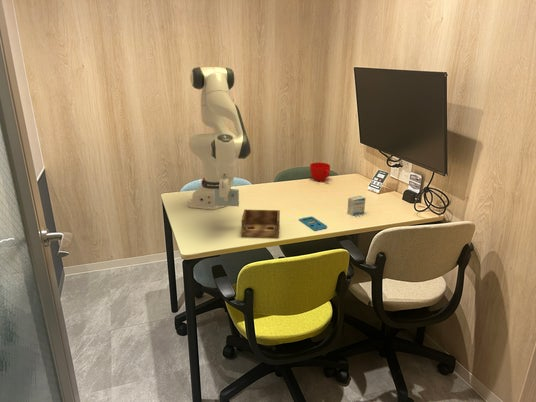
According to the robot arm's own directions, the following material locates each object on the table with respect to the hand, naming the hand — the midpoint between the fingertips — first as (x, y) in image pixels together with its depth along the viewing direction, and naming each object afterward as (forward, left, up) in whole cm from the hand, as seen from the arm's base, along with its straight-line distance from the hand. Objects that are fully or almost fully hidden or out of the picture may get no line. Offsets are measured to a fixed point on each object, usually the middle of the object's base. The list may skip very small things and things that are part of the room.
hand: (226, 199), depth 184 cm
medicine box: (+64, +21, -15) cm, 69 cm away
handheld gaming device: (+41, +6, -15) cm, 44 cm away
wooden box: (+16, -3, -14) cm, 22 cm away
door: (0, 0, -3) cm, 3 cm away
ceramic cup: (+50, +75, -15) cm, 92 cm away
